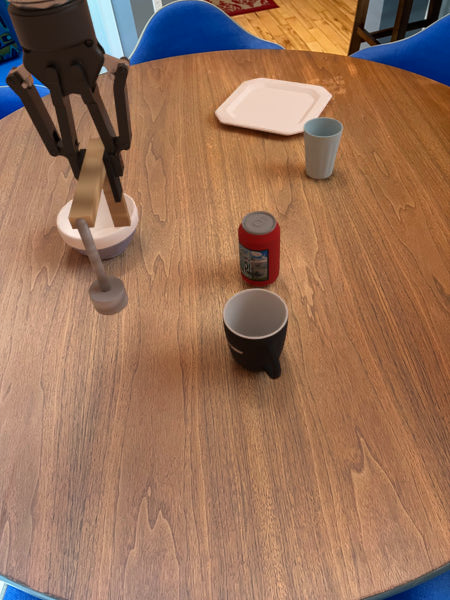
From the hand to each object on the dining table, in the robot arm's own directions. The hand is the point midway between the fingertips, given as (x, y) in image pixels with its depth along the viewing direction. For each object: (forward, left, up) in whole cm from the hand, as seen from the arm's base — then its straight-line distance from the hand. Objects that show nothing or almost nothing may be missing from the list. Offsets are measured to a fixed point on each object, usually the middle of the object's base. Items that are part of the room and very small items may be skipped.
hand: (107, 196), depth 63 cm
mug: (+19, -13, -23) cm, 32 cm away
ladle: (0, -5, -8) cm, 9 cm away
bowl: (-7, +17, -23) cm, 29 cm away
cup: (+37, +34, -23) cm, 55 cm away
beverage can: (+21, +5, -23) cm, 31 cm away
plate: (+31, +62, -23) cm, 73 cm away
